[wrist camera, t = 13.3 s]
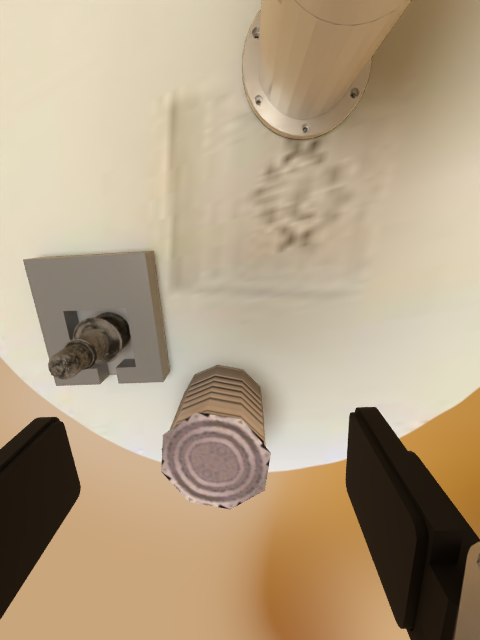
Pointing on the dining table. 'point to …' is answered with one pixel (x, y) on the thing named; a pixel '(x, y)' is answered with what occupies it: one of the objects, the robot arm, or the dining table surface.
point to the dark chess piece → (91, 345)
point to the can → (218, 440)
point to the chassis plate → (102, 310)
